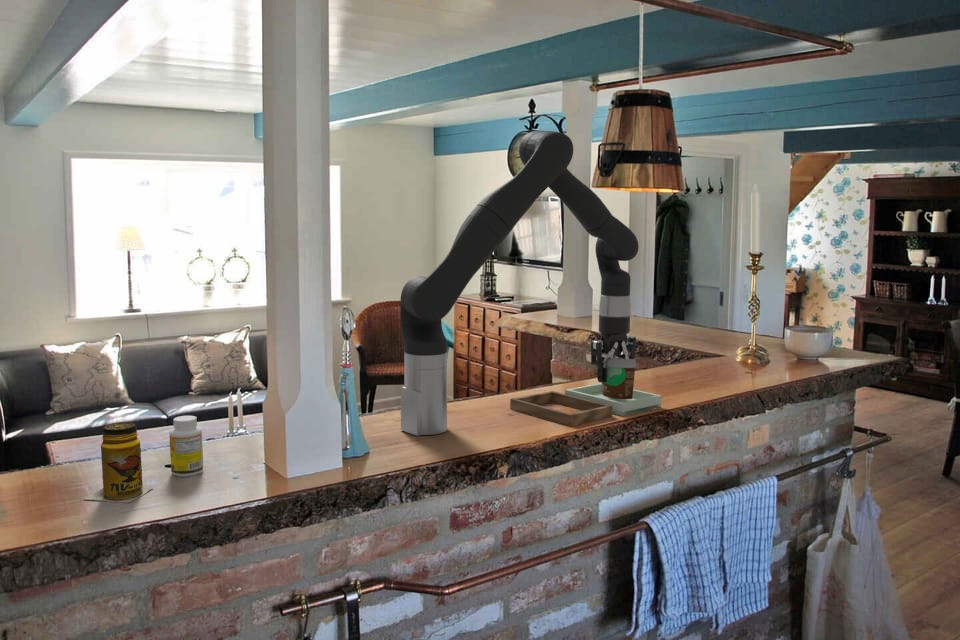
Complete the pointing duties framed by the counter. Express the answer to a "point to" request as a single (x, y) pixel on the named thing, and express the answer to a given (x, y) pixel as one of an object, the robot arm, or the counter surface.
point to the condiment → (120, 464)
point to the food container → (619, 378)
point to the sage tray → (620, 406)
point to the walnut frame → (533, 408)
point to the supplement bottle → (186, 447)
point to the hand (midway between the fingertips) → (612, 380)
